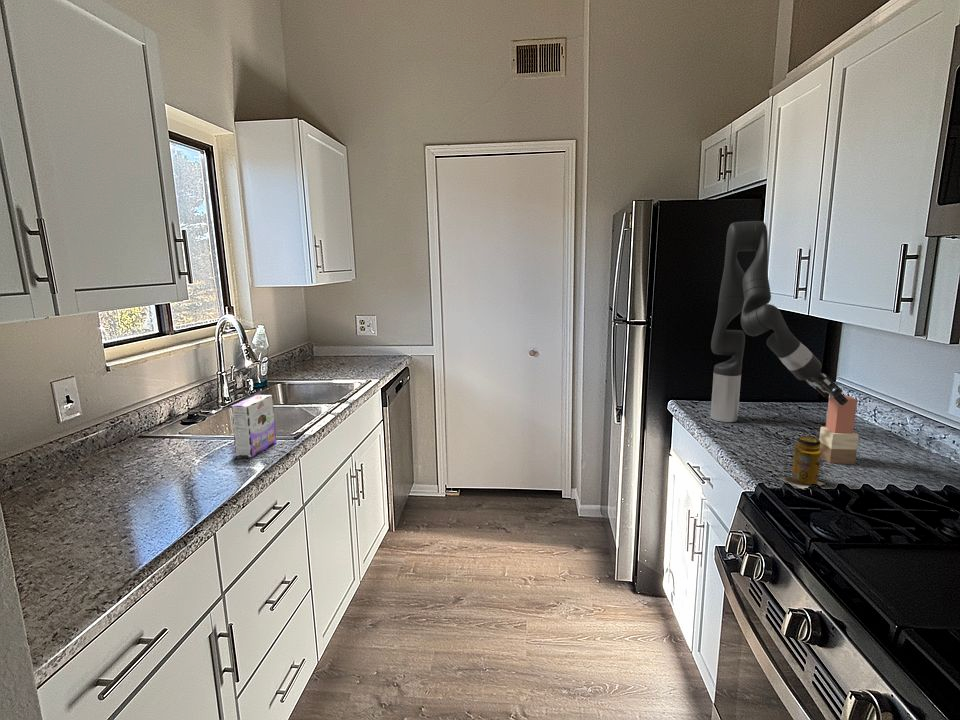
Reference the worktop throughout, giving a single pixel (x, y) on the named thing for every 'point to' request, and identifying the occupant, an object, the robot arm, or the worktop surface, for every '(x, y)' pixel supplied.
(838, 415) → the tall block
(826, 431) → the tower top
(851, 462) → the tower base
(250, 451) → the candy box
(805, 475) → the condiment
